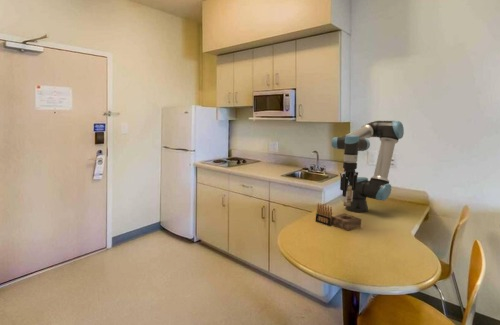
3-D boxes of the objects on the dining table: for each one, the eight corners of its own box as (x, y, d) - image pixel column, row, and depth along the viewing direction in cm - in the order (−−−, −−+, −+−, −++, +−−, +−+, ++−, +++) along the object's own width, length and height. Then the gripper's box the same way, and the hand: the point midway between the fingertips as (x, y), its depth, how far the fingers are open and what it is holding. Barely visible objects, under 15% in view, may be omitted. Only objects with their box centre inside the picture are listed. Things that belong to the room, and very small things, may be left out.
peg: (347, 206, 165) (349, 186, 163) (341, 205, 168) (343, 185, 166) (352, 206, 167) (353, 185, 165) (346, 204, 170) (347, 184, 169)
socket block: (330, 224, 171) (331, 216, 170) (344, 221, 177) (344, 213, 177) (347, 230, 161) (347, 222, 160) (360, 227, 167) (361, 218, 167)
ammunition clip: (315, 221, 176) (316, 202, 174) (317, 220, 177) (318, 202, 175) (330, 226, 168) (331, 206, 166) (332, 225, 169) (333, 206, 167)
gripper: (345, 163, 156) (342, 204, 159) (365, 162, 165) (362, 201, 168) (335, 161, 162) (332, 201, 166) (354, 160, 172) (351, 198, 175)
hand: (347, 201), depth 167 cm, fingers closed on peg, 4 cm apart
